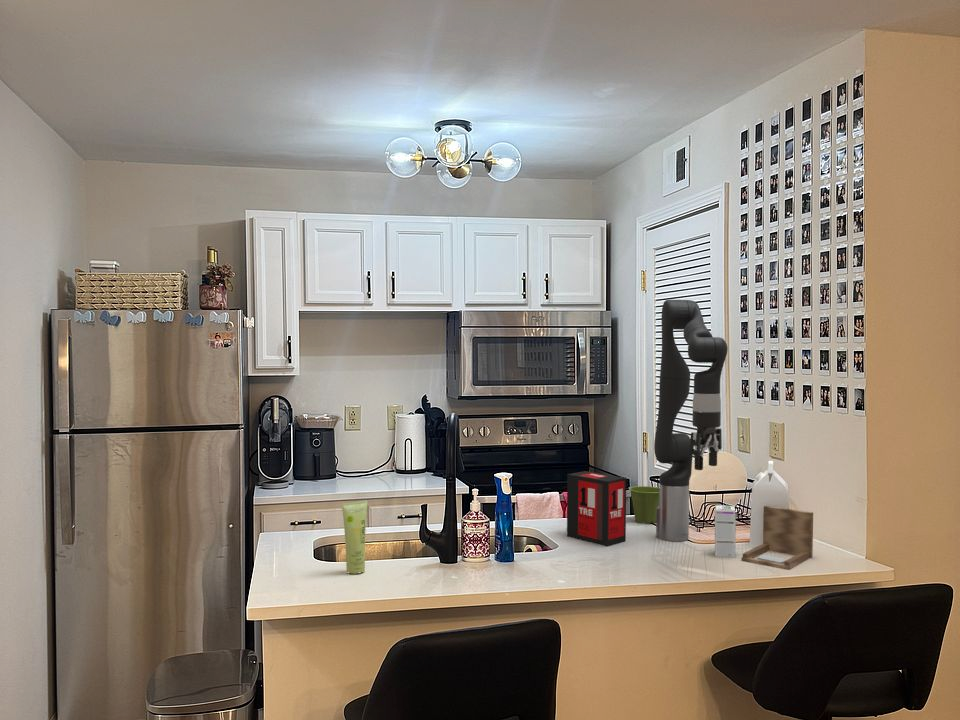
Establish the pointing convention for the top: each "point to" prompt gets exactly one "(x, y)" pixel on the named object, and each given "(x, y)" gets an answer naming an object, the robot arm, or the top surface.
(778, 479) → the milk
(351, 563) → the tube
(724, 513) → the syrup box
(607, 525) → the cleaning product box
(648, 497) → the plant pot
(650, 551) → the top surface
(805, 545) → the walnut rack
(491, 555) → the top surface
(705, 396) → the robot arm
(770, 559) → the grey offcut
